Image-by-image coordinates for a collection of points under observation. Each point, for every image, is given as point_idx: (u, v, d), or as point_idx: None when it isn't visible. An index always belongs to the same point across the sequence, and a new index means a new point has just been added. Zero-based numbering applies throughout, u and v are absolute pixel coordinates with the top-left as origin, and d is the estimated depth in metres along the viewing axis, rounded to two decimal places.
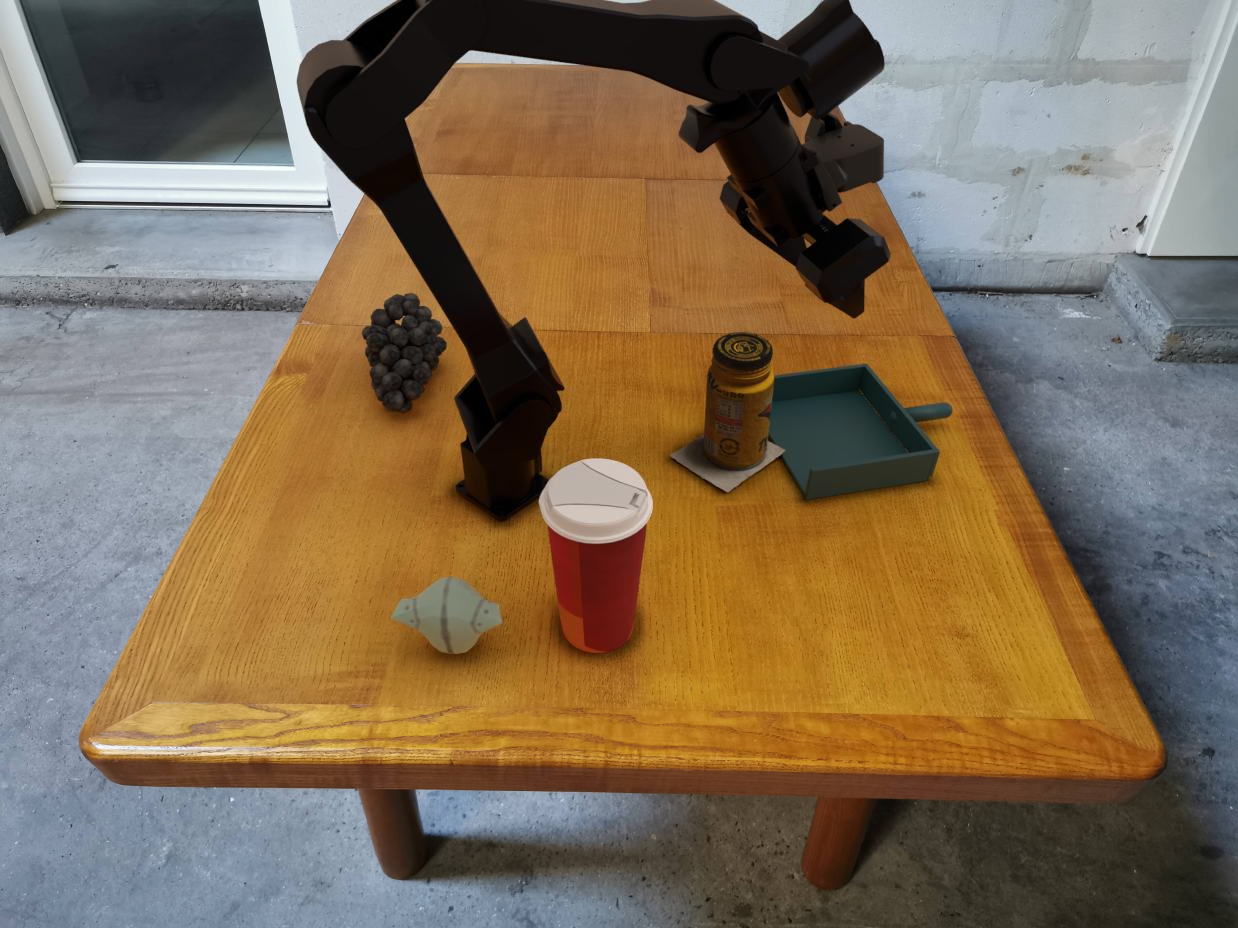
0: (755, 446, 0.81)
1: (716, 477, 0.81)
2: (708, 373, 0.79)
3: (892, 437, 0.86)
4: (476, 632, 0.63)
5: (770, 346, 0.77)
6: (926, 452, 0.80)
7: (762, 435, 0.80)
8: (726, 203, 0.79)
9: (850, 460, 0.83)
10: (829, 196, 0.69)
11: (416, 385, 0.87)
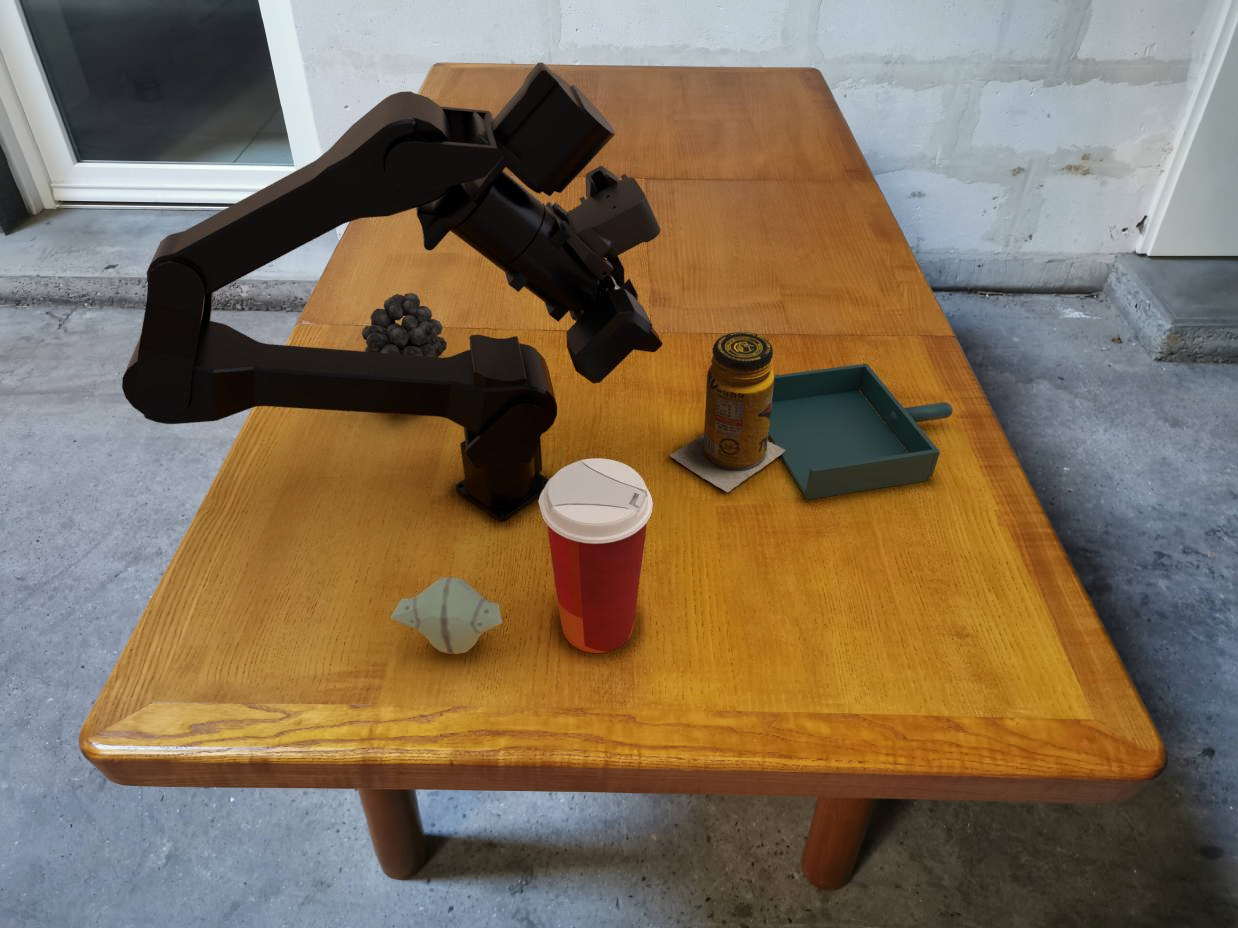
0: (755, 446, 0.81)
1: (716, 477, 0.81)
2: (708, 373, 0.79)
3: (892, 437, 0.86)
4: (476, 632, 0.63)
5: (770, 346, 0.77)
6: (926, 452, 0.80)
7: (762, 435, 0.80)
8: None
9: (850, 460, 0.83)
10: (594, 266, 0.65)
11: None
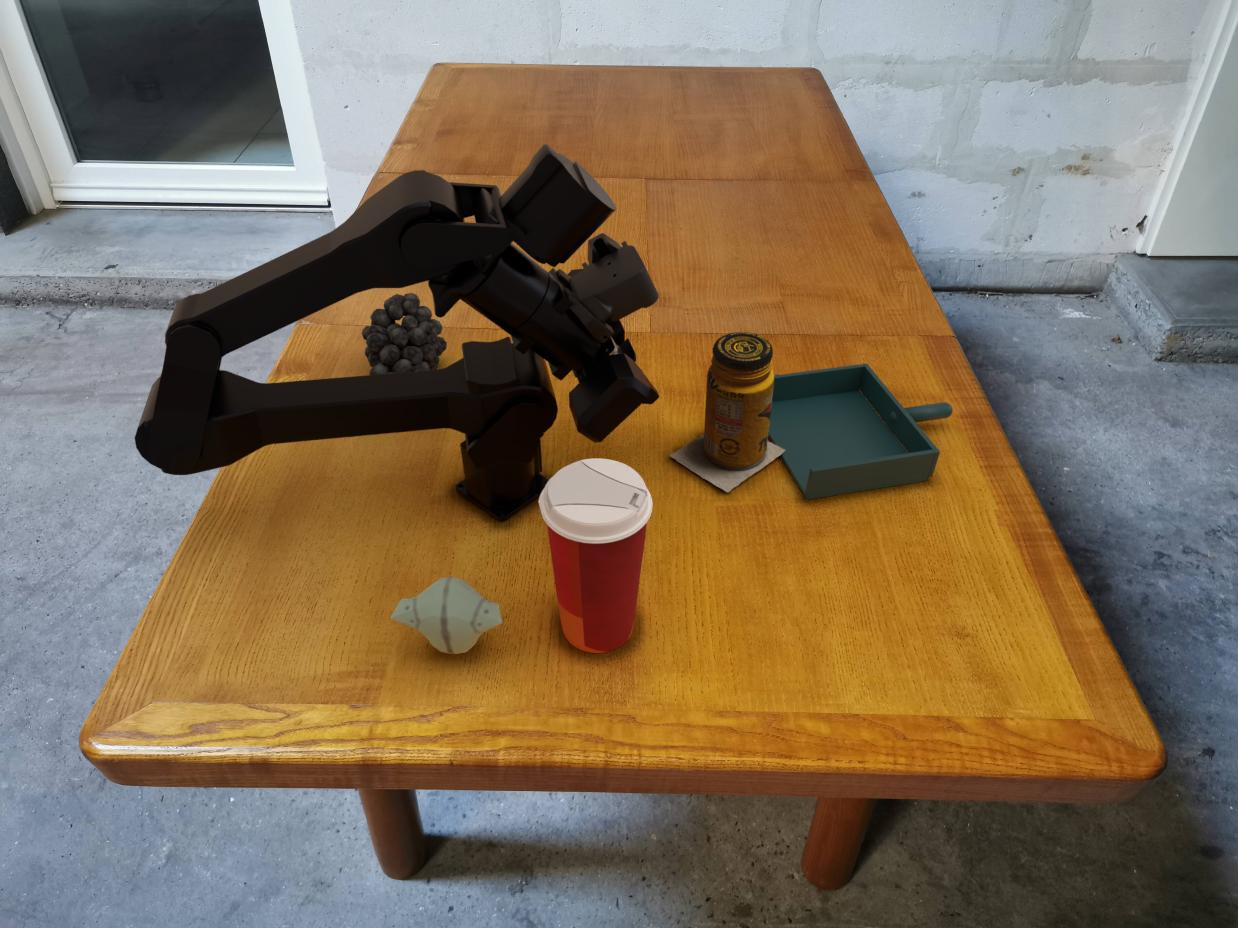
0: (755, 446, 0.81)
1: (716, 477, 0.81)
2: (708, 373, 0.79)
3: (892, 437, 0.86)
4: (476, 632, 0.63)
5: (770, 346, 0.77)
6: (926, 452, 0.80)
7: (762, 435, 0.80)
8: None
9: (850, 460, 0.83)
10: (596, 330, 0.68)
11: None
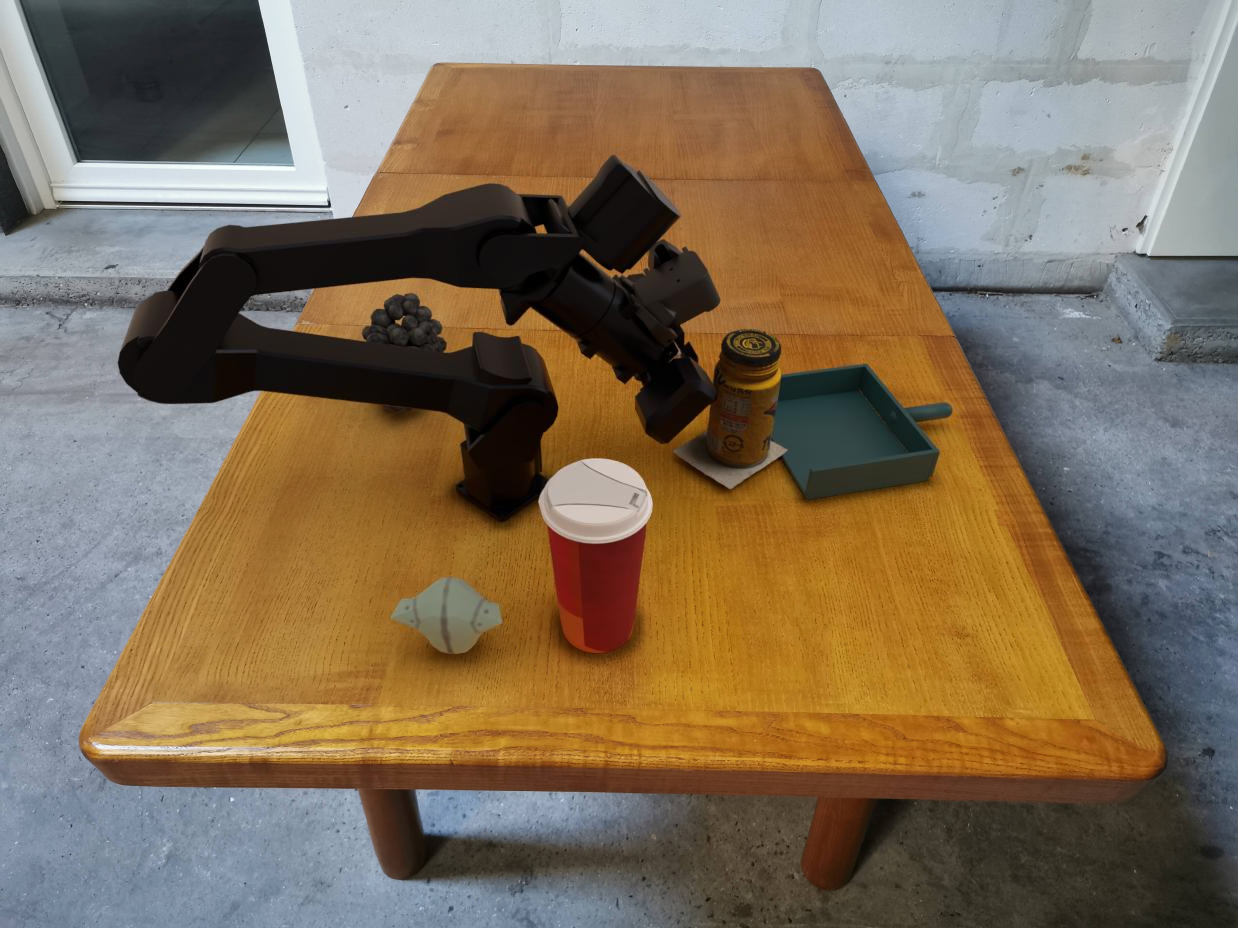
0: (759, 444, 0.81)
1: (719, 473, 0.81)
2: (715, 369, 0.79)
3: (892, 437, 0.86)
4: (476, 632, 0.63)
5: (779, 344, 0.77)
6: (926, 452, 0.80)
7: (766, 433, 0.80)
8: None
9: (850, 460, 0.83)
10: (660, 334, 0.70)
11: None
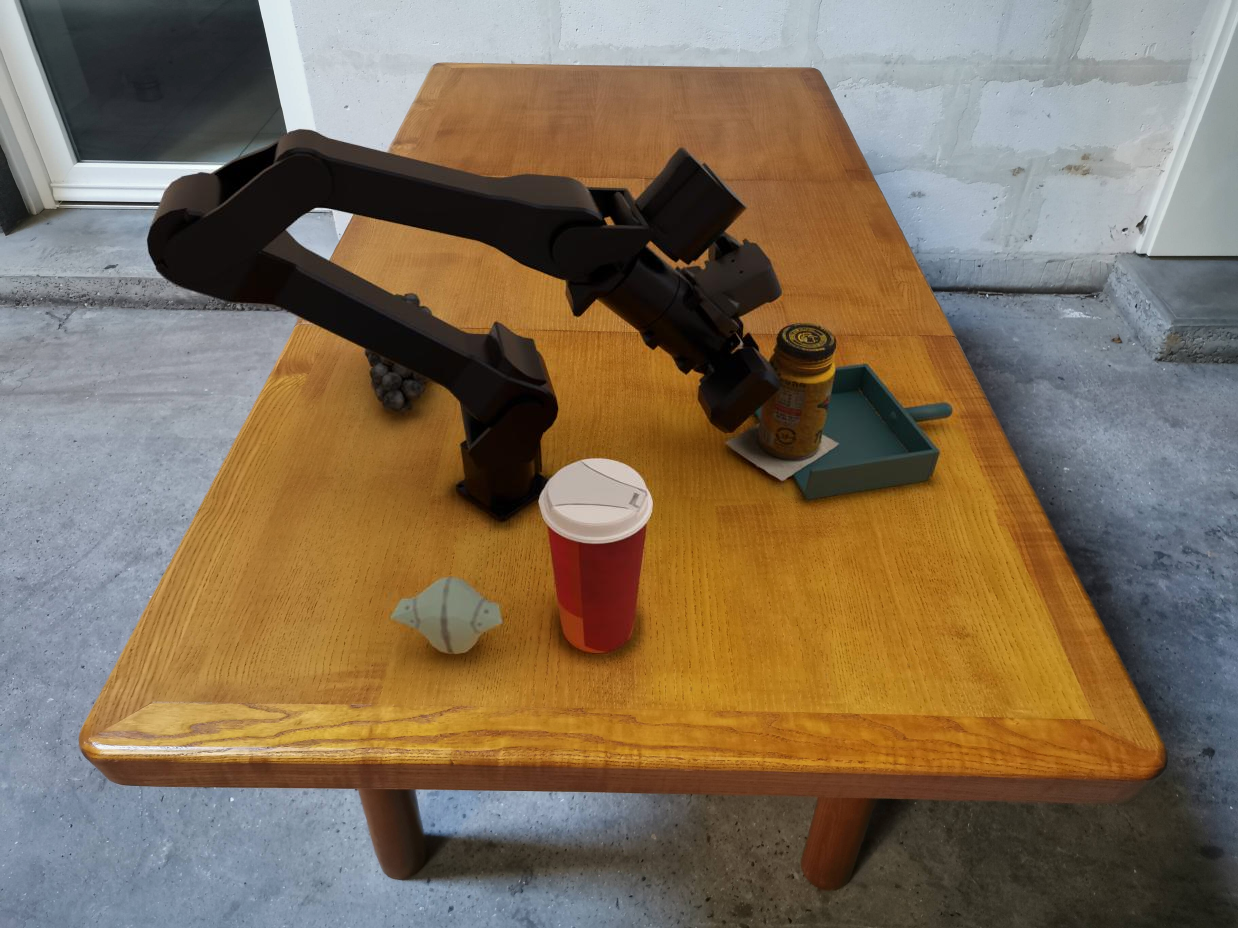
0: (811, 437, 0.81)
1: (770, 465, 0.82)
2: (770, 362, 0.80)
3: (892, 437, 0.86)
4: (476, 632, 0.63)
5: (834, 338, 0.78)
6: (926, 452, 0.80)
7: (818, 426, 0.81)
8: None
9: (850, 460, 0.83)
10: (723, 325, 0.71)
11: (416, 385, 0.87)
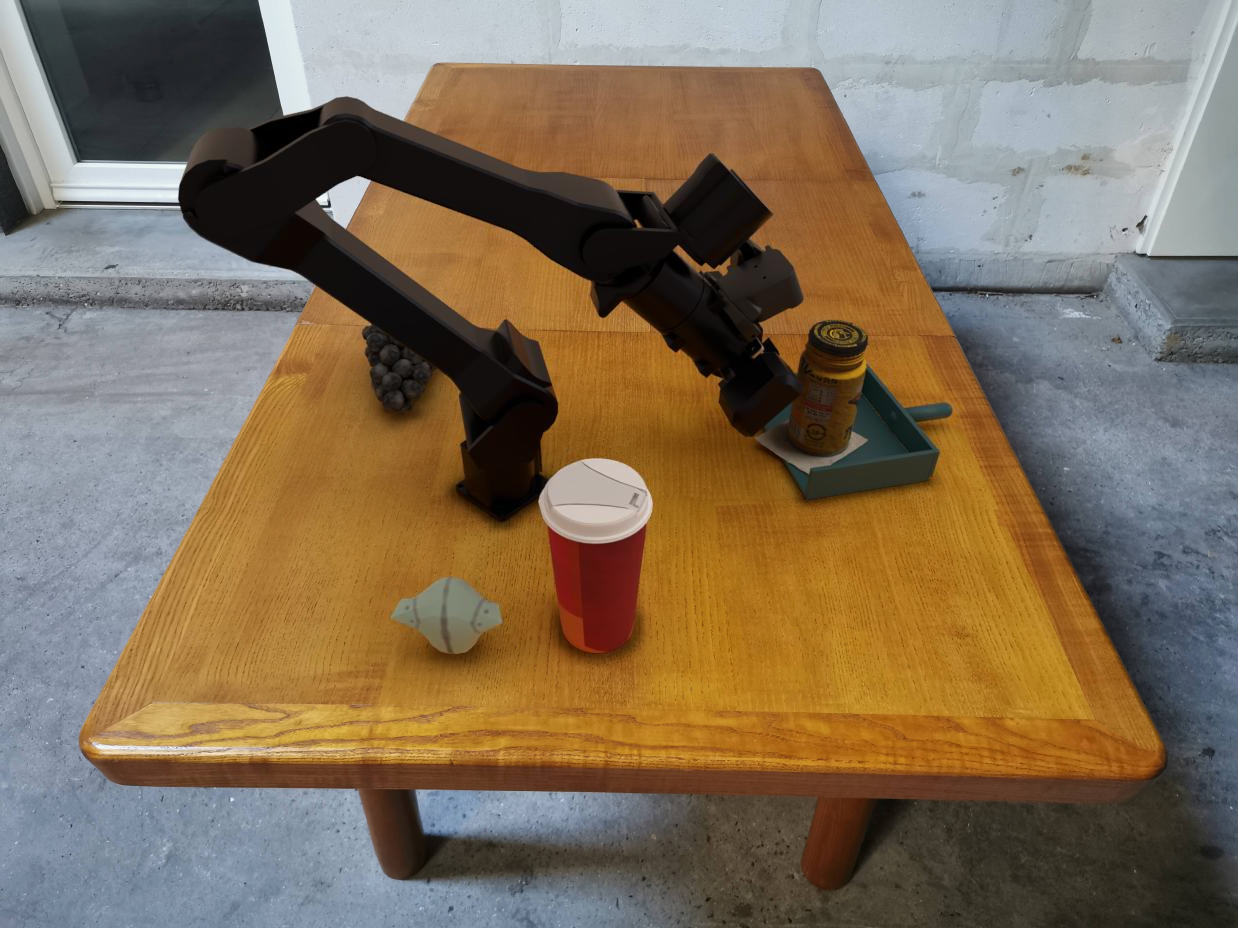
0: (841, 433, 0.82)
1: (800, 461, 0.83)
2: (801, 358, 0.80)
3: (892, 437, 0.86)
4: (476, 632, 0.63)
5: (866, 335, 0.78)
6: (926, 452, 0.80)
7: (849, 422, 0.82)
8: None
9: (850, 460, 0.83)
10: (745, 330, 0.72)
11: (416, 385, 0.87)
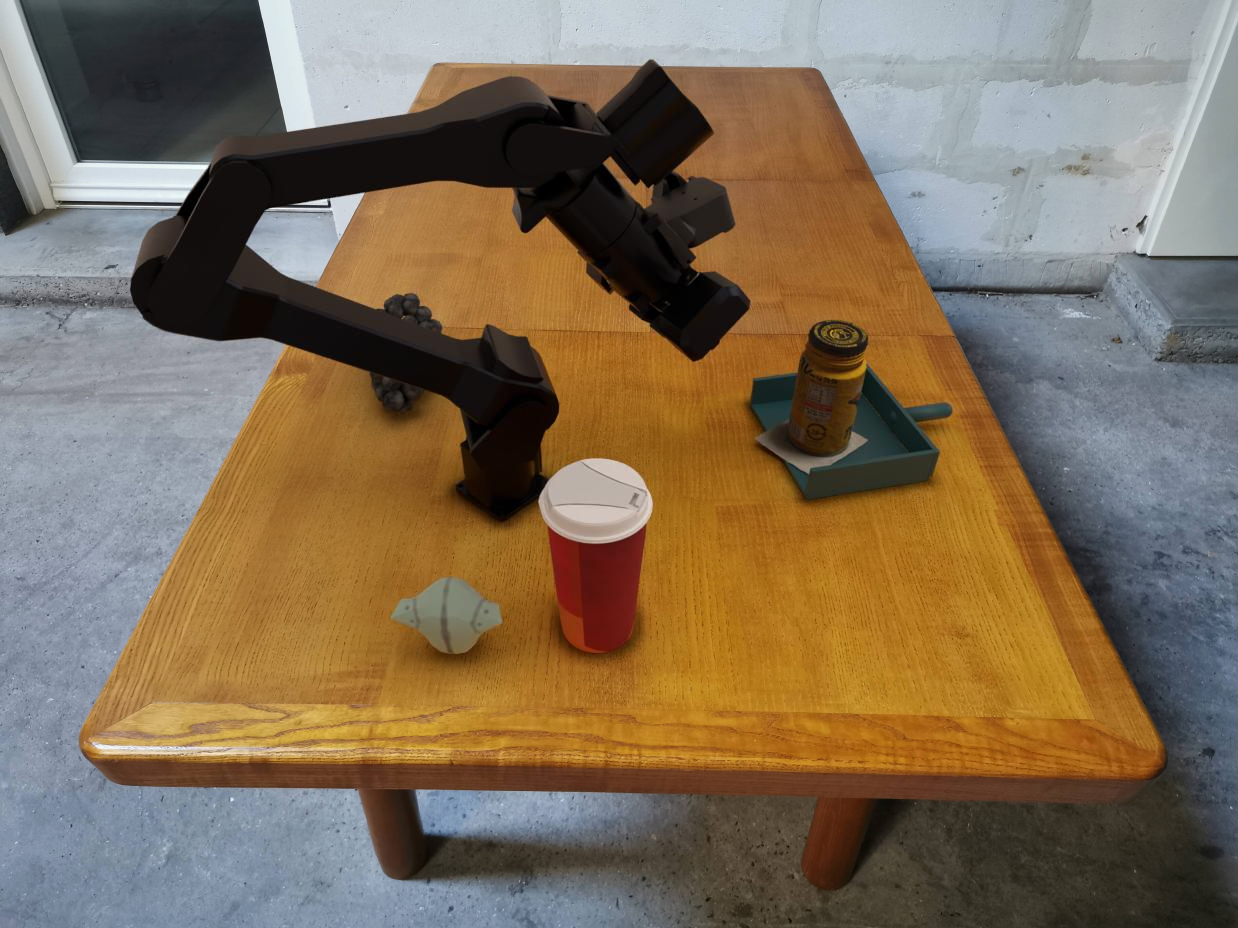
0: (841, 433, 0.82)
1: (800, 461, 0.83)
2: (801, 358, 0.80)
3: (892, 437, 0.86)
4: (476, 632, 0.63)
5: (866, 335, 0.78)
6: (926, 452, 0.80)
7: (849, 422, 0.82)
8: (592, 276, 0.77)
9: (850, 460, 0.83)
10: (681, 253, 0.67)
11: None
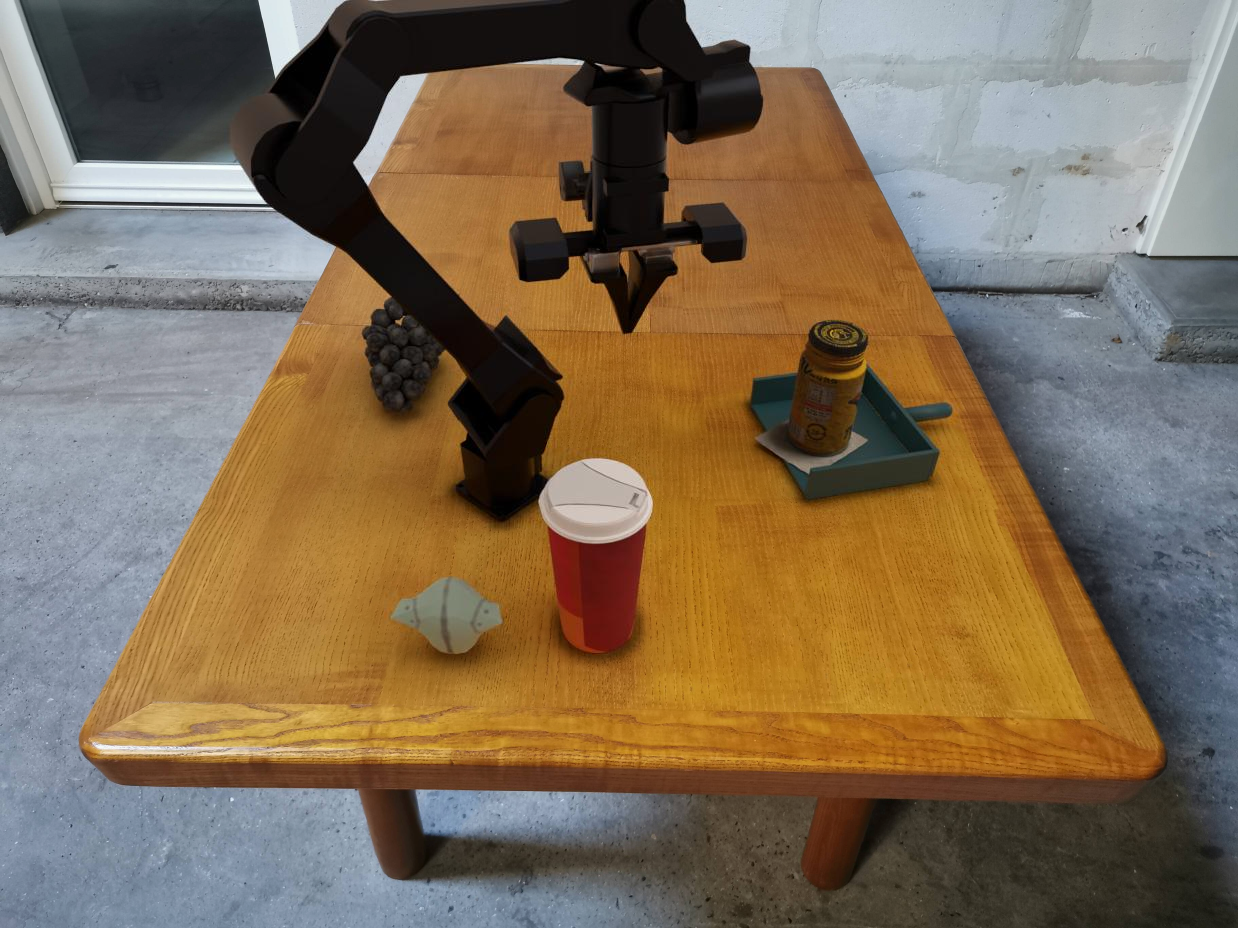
0: (841, 433, 0.82)
1: (800, 461, 0.83)
2: (801, 358, 0.80)
3: (892, 437, 0.86)
4: (476, 632, 0.63)
5: (866, 335, 0.78)
6: (926, 452, 0.80)
7: (849, 422, 0.82)
8: (543, 257, 0.67)
9: (850, 460, 0.83)
10: None
11: (416, 385, 0.87)
